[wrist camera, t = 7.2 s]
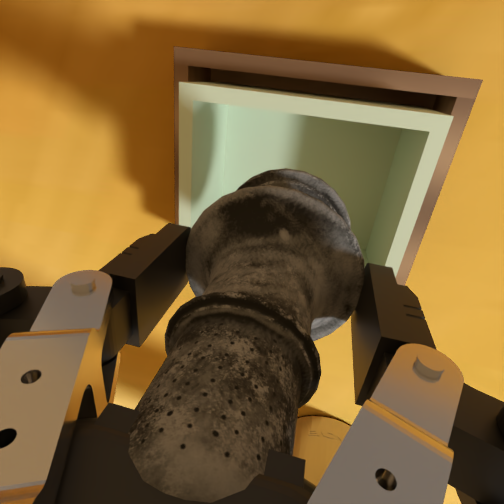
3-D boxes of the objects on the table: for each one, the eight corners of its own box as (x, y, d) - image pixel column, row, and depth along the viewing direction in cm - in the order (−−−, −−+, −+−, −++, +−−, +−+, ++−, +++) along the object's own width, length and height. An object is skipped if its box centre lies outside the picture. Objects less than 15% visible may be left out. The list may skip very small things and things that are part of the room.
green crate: (372, 256, 24) (383, 310, 18) (213, 226, 26) (178, 266, 20) (419, 106, 19) (453, 116, 14) (221, 81, 21) (178, 81, 16)
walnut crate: (386, 273, 25) (395, 308, 21) (198, 236, 27) (175, 261, 24) (453, 80, 19) (482, 79, 15) (203, 52, 21) (173, 46, 17)
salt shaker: (283, 313, 16) (177, 764, 5) (191, 226, 15) (-156, 571, 4) (391, 238, 13) (600, 864, 3) (286, 126, 12) (-40, 413, 2)
